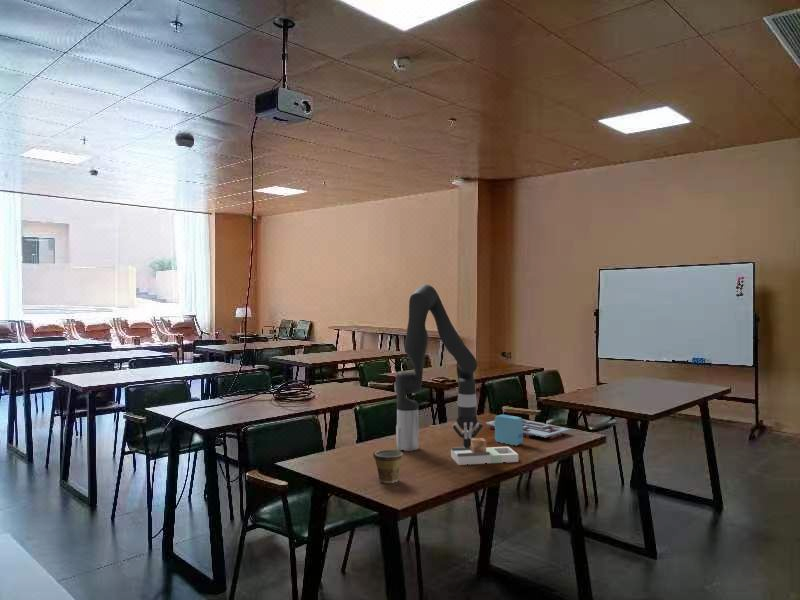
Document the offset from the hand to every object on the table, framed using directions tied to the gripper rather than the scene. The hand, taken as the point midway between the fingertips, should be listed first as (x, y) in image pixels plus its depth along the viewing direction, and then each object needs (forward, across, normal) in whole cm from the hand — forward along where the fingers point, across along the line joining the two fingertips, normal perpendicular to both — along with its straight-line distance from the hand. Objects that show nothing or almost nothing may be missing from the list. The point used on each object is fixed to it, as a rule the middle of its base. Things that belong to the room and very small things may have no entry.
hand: (467, 447), depth 234 cm
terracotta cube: (+2, +5, 0) cm, 5 cm away
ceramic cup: (+6, -35, -19) cm, 41 cm away
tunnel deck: (+5, +7, 0) cm, 9 cm away
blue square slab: (+5, +25, +23) cm, 34 cm away
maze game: (+6, +41, +42) cm, 59 cm away
